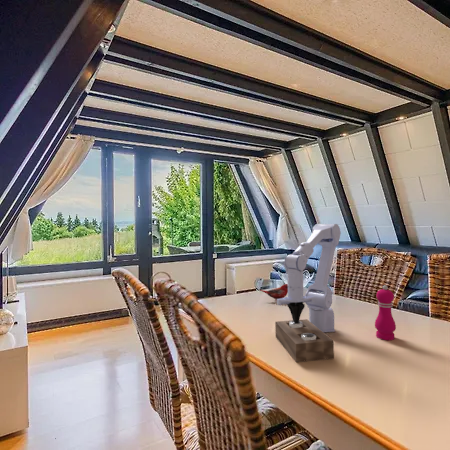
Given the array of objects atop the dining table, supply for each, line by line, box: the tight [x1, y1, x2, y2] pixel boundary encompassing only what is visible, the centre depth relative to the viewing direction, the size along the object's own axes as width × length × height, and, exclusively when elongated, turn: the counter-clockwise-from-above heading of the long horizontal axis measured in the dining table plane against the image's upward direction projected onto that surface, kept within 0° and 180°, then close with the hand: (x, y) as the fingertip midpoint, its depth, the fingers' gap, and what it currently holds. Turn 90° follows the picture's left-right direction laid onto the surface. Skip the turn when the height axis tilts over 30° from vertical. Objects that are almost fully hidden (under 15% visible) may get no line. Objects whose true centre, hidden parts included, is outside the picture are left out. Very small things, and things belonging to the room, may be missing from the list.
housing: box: [274, 318, 335, 363], centre depth 118 cm, size 13×22×6 cm, turn 8°
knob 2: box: [301, 333, 316, 341], centre depth 112 cm, size 5×5×6 cm
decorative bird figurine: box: [259, 283, 288, 303], centre depth 177 cm, size 3×18×10 cm, turn 72°
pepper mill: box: [374, 284, 397, 341], centre depth 125 cm, size 7×7×20 cm
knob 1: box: [289, 319, 303, 328], centre depth 124 cm, size 5×5×6 cm
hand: (295, 322), depth 124 cm, fingers closed, pressing on knob 1
